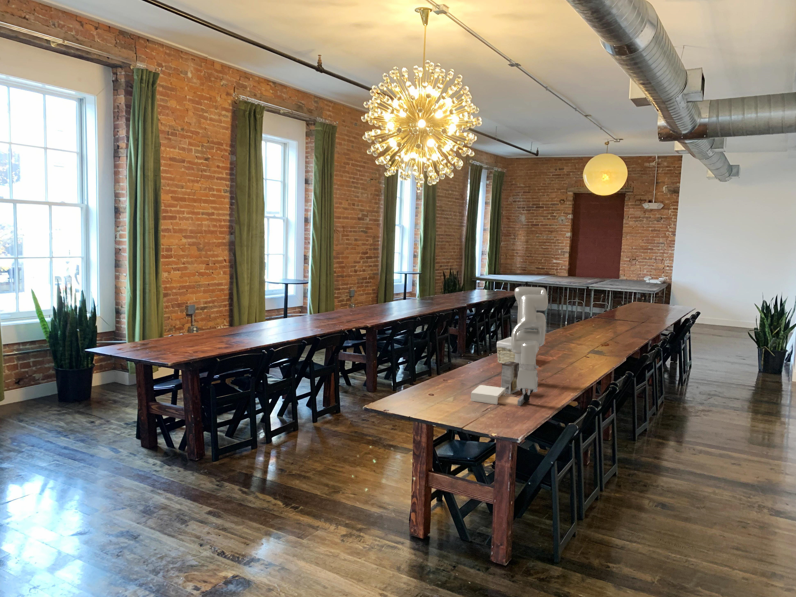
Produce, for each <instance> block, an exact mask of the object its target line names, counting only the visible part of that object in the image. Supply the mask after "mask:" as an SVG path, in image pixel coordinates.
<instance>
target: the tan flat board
mask: <svg viewBox="0 0 796 597" xmlns="http://www.w3.org/2000/svg"><path fill="white" fill-rule="evenodd" d="M523 395H524V394H522V395H521V396H520V397H515V396H509V395H508V396H507V395H505V396H502V395H501V396H500V397H499V398H498V404H502V405H509V406H515V407H516V406H517V407H522V405H523V404H524V403H525V402H524V400H523Z"/></svg>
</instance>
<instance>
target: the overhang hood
mask: <svg viewBox="0 0 796 597" xmlns="http://www.w3.org/2000/svg"><path fill="white" fill-rule="evenodd" d="M501 395H502V396H506V393H505V388H501V386H500V387H499V386H491V385H485V384H479V385H478V386H477V387H476V388H474V389H473V390H472V391H471V392H470V401H471V402H478V403H483V404H491V405H498V404H499V403H498V398H499V397H500V396H501Z"/></svg>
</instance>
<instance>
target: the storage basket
mask: <svg viewBox="0 0 796 597" xmlns="http://www.w3.org/2000/svg"><path fill="white" fill-rule="evenodd" d="M496 352H497V363H499V364H503V363H506V362H509V361H512V362H515V353H513V352H512V350H511V336H509V337H506V338H504V339H501V340H497V342H496Z"/></svg>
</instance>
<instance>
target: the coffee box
mask: <svg viewBox="0 0 796 597" xmlns="http://www.w3.org/2000/svg"><path fill="white" fill-rule="evenodd" d="M518 372H519V363H516V362H512V361H509V362H506V363H501V377H500V378H501V382H500V387H501V388H505V394H509V395H512V394H513V393H514V394H515V393H517V392H519V390H518V389H516V388H517V378H518Z"/></svg>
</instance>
